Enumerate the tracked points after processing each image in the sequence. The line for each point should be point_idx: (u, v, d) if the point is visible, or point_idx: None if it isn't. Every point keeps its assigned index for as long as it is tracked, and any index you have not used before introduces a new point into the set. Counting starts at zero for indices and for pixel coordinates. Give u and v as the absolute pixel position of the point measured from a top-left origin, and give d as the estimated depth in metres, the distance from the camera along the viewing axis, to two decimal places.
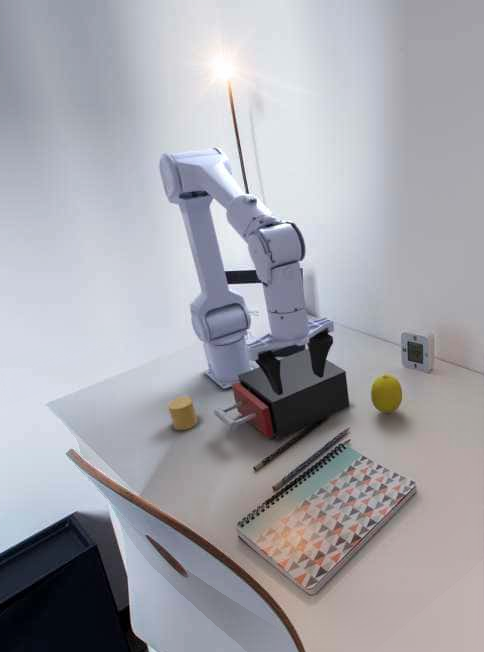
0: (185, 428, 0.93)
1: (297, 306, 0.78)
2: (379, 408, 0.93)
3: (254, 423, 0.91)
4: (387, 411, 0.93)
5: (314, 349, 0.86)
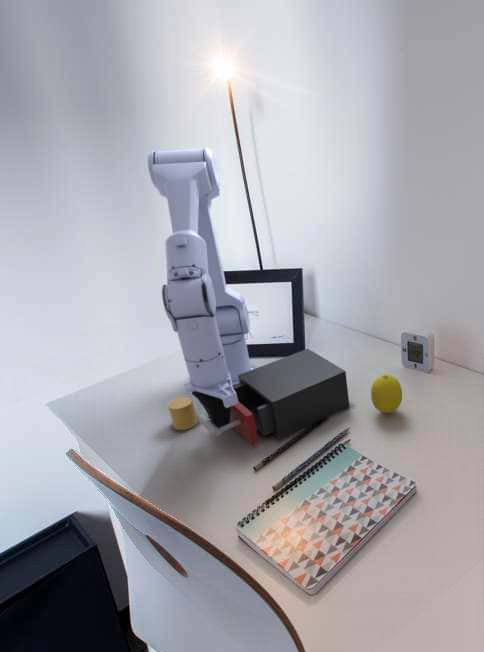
0: (185, 428, 0.93)
1: (203, 357, 0.79)
2: (379, 408, 0.93)
3: (239, 430, 0.90)
4: (387, 411, 0.93)
5: None
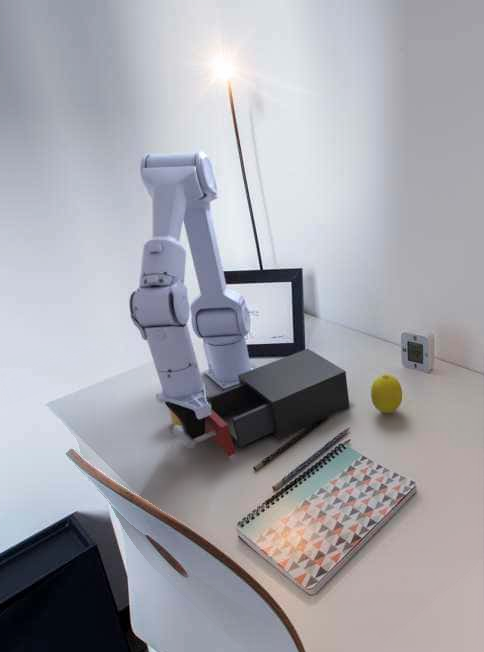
0: None
1: (171, 368, 0.77)
2: (379, 408, 0.93)
3: (215, 441, 0.87)
4: (387, 411, 0.93)
5: None
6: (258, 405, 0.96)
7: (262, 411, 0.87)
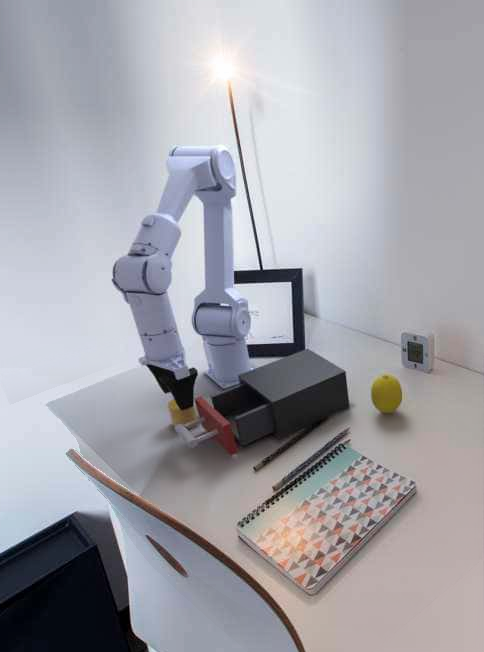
0: None
1: (147, 332, 0.83)
2: (379, 408, 0.93)
3: (217, 440, 0.88)
4: (387, 411, 0.93)
5: None
6: (260, 404, 0.96)
7: (264, 410, 0.87)
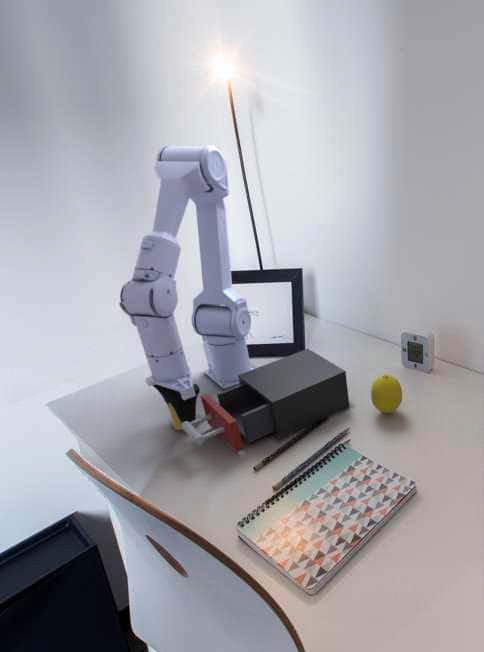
0: None
1: (153, 353, 0.85)
2: (379, 408, 0.93)
3: (223, 437, 0.88)
4: (387, 411, 0.93)
5: None
6: (265, 402, 0.97)
7: (270, 408, 0.88)
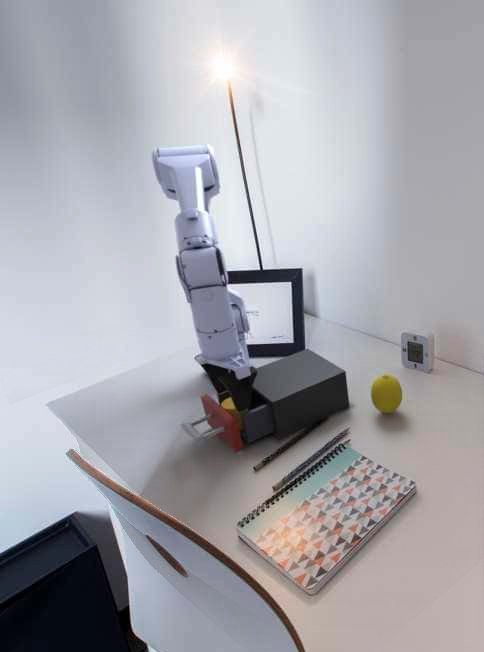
0: (239, 429, 0.89)
1: (217, 328, 0.79)
2: (379, 408, 0.93)
3: (223, 437, 0.88)
4: (387, 411, 0.93)
5: None
6: (265, 402, 0.97)
7: (270, 408, 0.88)
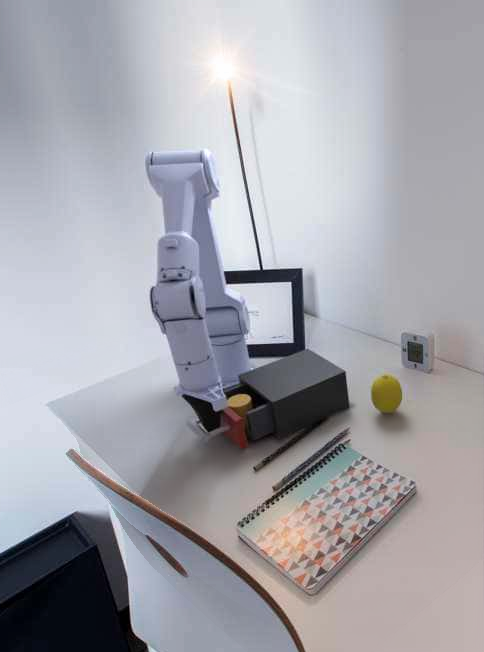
0: (244, 427, 0.89)
1: (191, 360, 0.78)
2: (379, 408, 0.93)
3: (228, 435, 0.89)
4: (387, 411, 0.93)
5: None
6: None
7: None
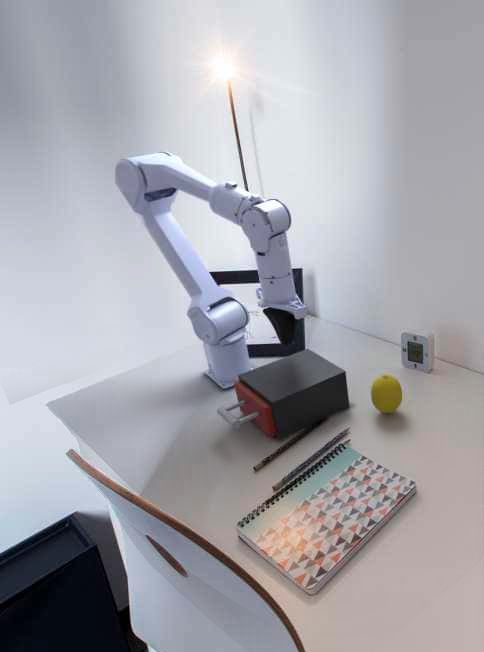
0: None
1: (289, 270, 0.91)
2: (379, 408, 0.93)
3: (257, 422, 0.92)
4: (387, 411, 0.93)
5: None
6: None
7: None
